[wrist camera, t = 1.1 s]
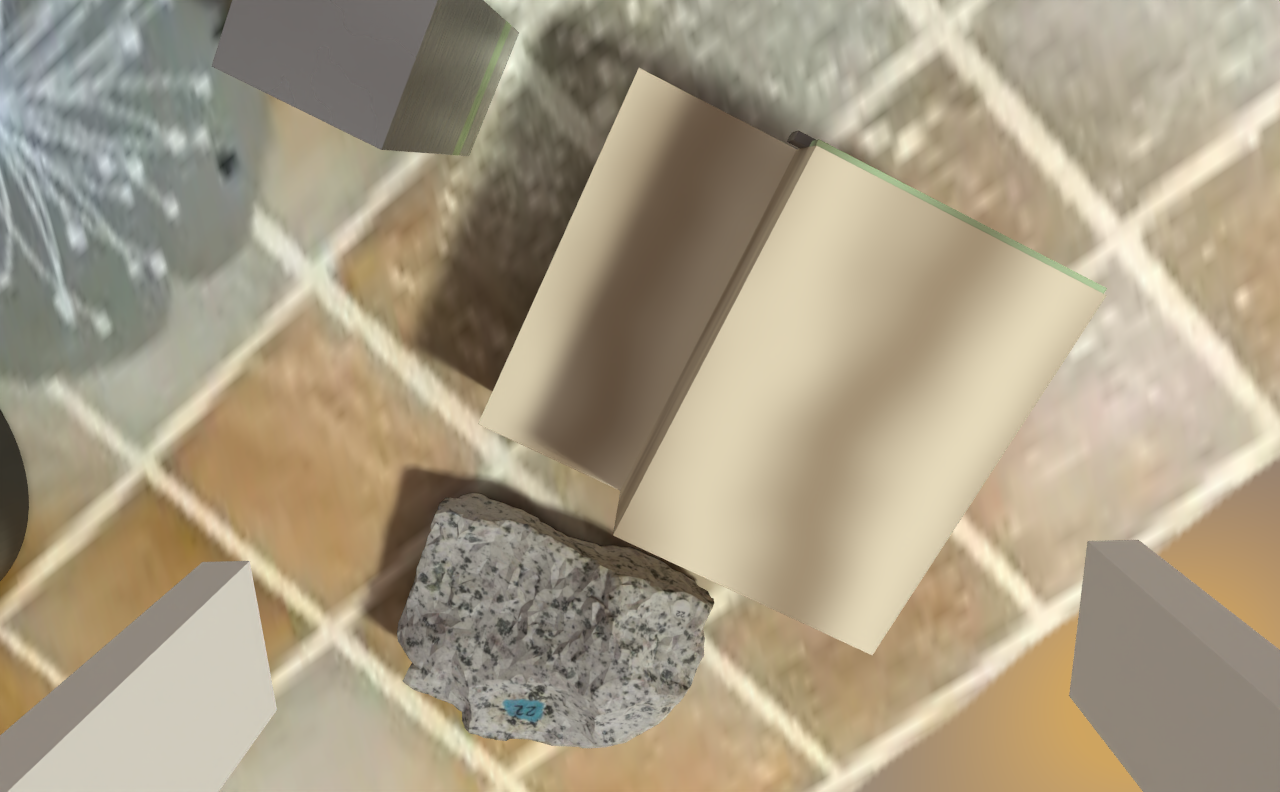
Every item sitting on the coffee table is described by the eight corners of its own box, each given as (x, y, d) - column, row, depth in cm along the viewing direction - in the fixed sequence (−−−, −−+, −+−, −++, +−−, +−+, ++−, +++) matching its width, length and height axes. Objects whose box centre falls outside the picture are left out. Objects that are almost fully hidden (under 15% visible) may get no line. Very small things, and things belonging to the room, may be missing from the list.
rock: (393, 638, 39) (351, 707, 34) (460, 467, 36) (425, 515, 31) (640, 738, 40) (633, 819, 35) (725, 578, 37) (729, 641, 32)
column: (351, 97, 32) (211, 66, 22) (397, -30, 31) (270, -122, 21) (468, 156, 32) (381, 149, 23) (519, 32, 31) (449, -31, 21)
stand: (499, 396, 35) (449, 460, 27) (646, 73, 31) (637, 40, 23) (830, 551, 36) (871, 655, 28) (1008, 259, 32) (1112, 286, 25)
